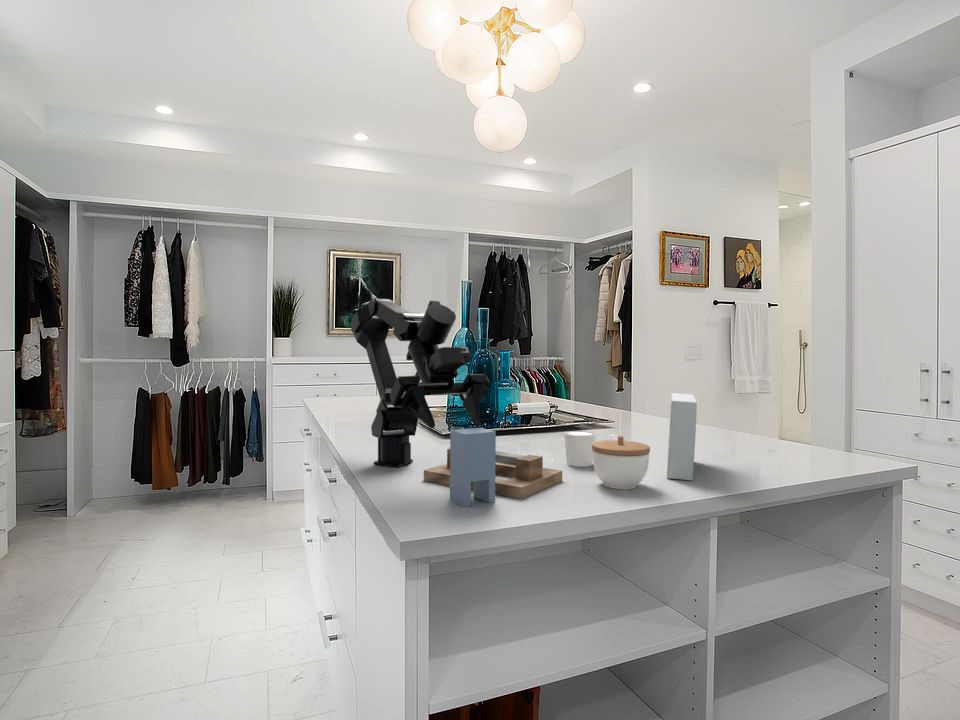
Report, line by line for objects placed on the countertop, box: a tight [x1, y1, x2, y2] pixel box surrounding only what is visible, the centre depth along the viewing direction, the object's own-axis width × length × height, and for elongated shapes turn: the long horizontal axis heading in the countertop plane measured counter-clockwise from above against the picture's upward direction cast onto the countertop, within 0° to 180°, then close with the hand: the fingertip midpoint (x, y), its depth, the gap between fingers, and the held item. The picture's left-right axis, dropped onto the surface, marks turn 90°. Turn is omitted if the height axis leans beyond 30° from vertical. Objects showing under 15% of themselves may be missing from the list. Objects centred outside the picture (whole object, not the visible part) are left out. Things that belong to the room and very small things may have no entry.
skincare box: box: [666, 392, 698, 481], centre depth 122 cm, size 21×6×16 cm, turn 161°
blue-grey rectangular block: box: [449, 427, 497, 508], centre depth 96 cm, size 6×5×12 cm
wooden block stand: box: [423, 448, 563, 500], centre depth 110 cm, size 22×16×6 cm
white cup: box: [564, 430, 596, 468], centre depth 126 cm, size 7×7×7 cm
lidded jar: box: [592, 435, 651, 490], centre depth 108 cm, size 11×11×9 cm
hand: (456, 425), depth 101 cm, fingers open, 9 cm apart
